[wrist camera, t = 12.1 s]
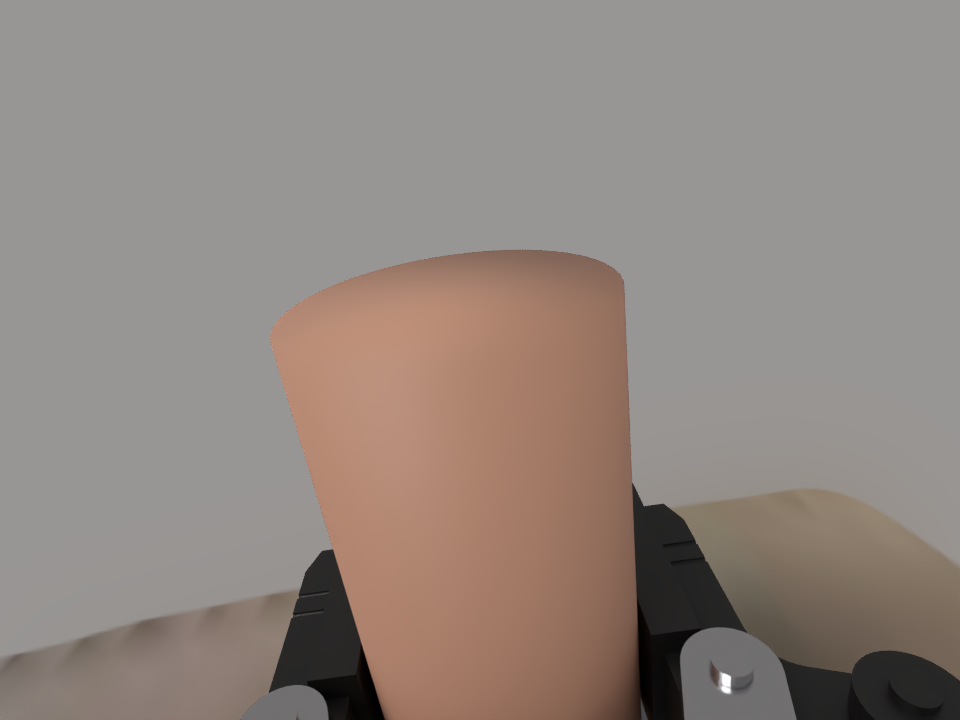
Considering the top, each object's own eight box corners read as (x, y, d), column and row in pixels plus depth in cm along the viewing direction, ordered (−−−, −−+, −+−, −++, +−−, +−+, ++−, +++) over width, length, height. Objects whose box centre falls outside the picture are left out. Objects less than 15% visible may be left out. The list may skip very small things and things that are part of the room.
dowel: (425, 1007, 12) (187, 363, 6) (497, 798, 15) (386, 254, 9) (632, 1118, 10) (573, 388, 4) (662, 857, 13) (649, 245, 8)
